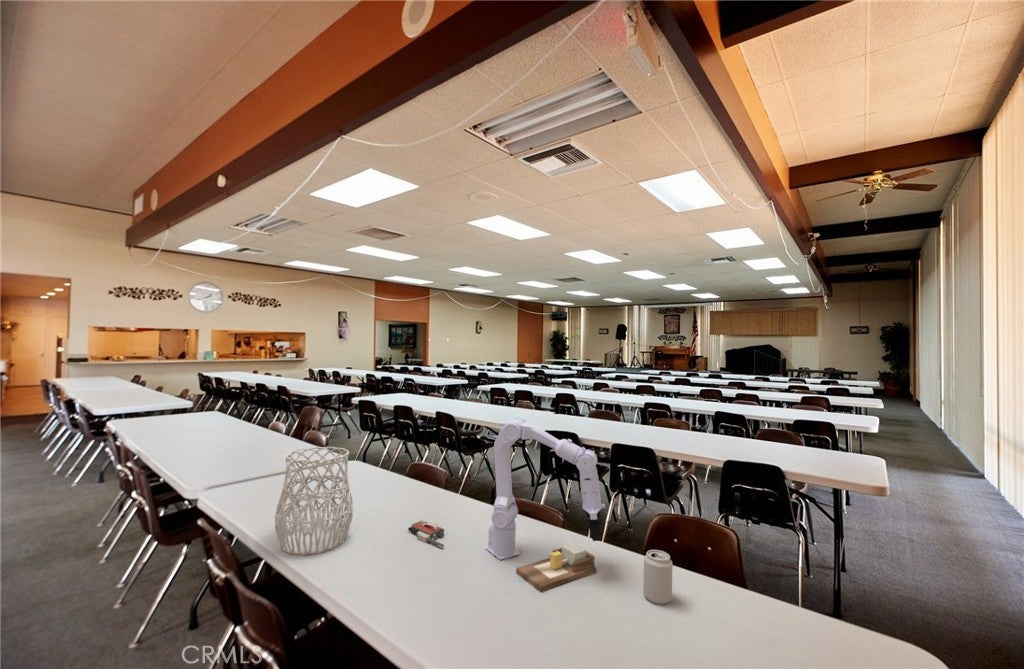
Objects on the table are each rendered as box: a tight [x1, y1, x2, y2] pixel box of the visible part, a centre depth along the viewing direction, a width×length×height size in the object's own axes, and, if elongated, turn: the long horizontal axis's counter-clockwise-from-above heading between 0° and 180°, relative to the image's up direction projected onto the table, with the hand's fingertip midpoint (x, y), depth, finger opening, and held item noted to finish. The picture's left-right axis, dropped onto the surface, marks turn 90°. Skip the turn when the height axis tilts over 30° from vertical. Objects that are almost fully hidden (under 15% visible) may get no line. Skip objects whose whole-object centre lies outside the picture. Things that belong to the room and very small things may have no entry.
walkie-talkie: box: [407, 520, 445, 548], centre depth 154 cm, size 9×4×20 cm
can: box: [642, 549, 673, 606], centre depth 120 cm, size 8×8×12 cm
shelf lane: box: [515, 547, 597, 593], centre depth 132 cm, size 12×22×4 cm, turn 124°
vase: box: [274, 446, 354, 556], centre depth 149 cm, size 24×24×30 cm
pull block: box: [549, 542, 588, 570], centre depth 134 cm, size 6×11×4 cm, turn 124°
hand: (595, 535), depth 134 cm, fingers open, 7 cm apart
